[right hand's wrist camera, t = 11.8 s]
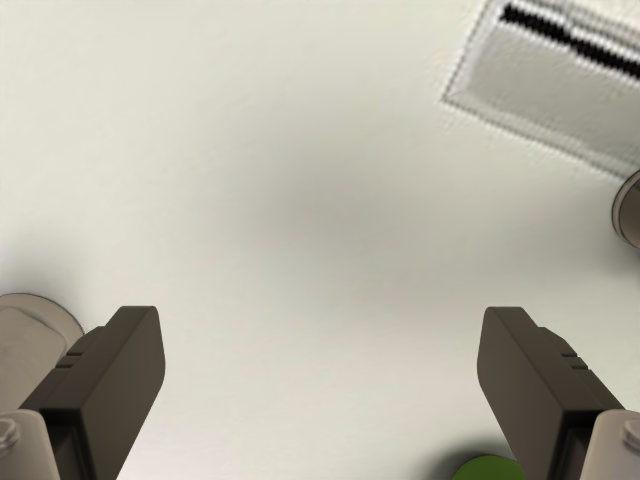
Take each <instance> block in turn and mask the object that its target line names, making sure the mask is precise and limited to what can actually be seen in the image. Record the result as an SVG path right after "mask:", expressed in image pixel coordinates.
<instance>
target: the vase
mask: <svg viewBox="0 0 640 480" xmlns="http://www.w3.org/2000/svg"><path fill="white" fill-rule="evenodd" d="M451 480H526V478H525V476H524V474H523V472H522V470H521V468H520V466H519V463H518V462H516V461H513V460H511V459H507V458H504V457H500V456H495V455H486V456H480V457H476V458H474V459H471V460H469V461H467V462H466V463H464V464H463V465H462V466H461V467H460V468H459V469H458V470H457V472H456V473H455V474H454V476H453V477H452V479H451Z"/></svg>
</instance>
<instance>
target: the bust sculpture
mask: <svg viewBox="0 0 640 480" xmlns="http://www.w3.org/2000/svg"><path fill="white" fill-rule="evenodd" d="M82 336H84V335H83V333H82V331H81V329H80V327H79V325H78V324H77V323H76V321H75V320H74V319H73V318H72V317H71V316H70V315H69V314H68V313H67V312H66V311H65V310H63V309H62V308H61V307H59V306H58V305H56V304H54V303H52V302H51V301H48V300H46V299H44V298H41V297H38V296H34V295H28V294H9V295H4V296H0V413H2V412H6V411H10V410H17V409H18V408H19V407H20V405H21V404H22V403H23V402H24V401H25V400H26V399H27V397H28V396H29V395H30V394H31V393H32V392H33V390H34V389H35V388H36V387H37V386H38V385H39V384H40V382H41V381H42V380H43V379H44V378H45V377H46V376H47V374H48V373H49V372H50V371H51V370H52V369H53V368H55V365H56V364H57V363H58V362H59V361H60V359H61V358H62V357H63V356H66V353H67V351H68V350H69V349H70V348H71V347H72V346H73V345H74V343H75V342H76V341H77V340H78V339H79V338H80V337H82Z"/></svg>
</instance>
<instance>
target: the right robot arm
mask: <svg viewBox="0 0 640 480" xmlns="http://www.w3.org/2000/svg"><path fill="white" fill-rule="evenodd" d="M613 224H614V227H615V229H616V231H617V233H618V234H619V236H620V237H621V238H622V239H623V240H624V241H626V242H627V243H629V244H631V245H632V246H634V247H636V248H639V249H640V171H639V172H637V173H636V174H635V175H633V176H632V177H631V178H630V179H629V180H628V181H627V182H626V183H625V185H624V186H623V187H622V189H621V190H620V192H619V194H618V196H617V198H616V200H615V203H614V207H613ZM477 374H478V380H479V383H480V386H481V389H482V391H483V393H484V395H485V397H486V399H487V401H488V403H489V405H490V407H491V409H492V411H493V413H494V415H495V417H496V419H497V421H498V423H499V425H500V427H501V429H502V431H503V433H504V435H505V437H506V439H507V441H508V443H509V445H510V447H511V449H512V451H513V453H514V455H515V457H516V459H517V461H518V463H519V466H520V468H521V470H522V472H523V474H524V476H525V478H526V480H640V413H638V412H634V411H630V410H626V409H625V408H624V407H623V406H622V405H621V403H620V402H619V401H618V400H617V399H616V398H615V397H614V395H613V394H612V393H611V392H610V391H609V390H608V389H607V388H606V386H605V385H604V384H603V383H602V382H601V381H600V380H599V378H598V377H597V376H596V375H595V374H594V373H593V372H592V370H588V366H587V365H586V364H585V362H584V361H583V360H582V359H581V358H580V357H577V353H576V352H575V351H574V350H573V349H572V348H571V347H570V345H569V344H568V343H567V342H566V341H565V340H564V339H563V338H561V337H559V336H558V335H556V334H555V333H553V332H552V331H550V330H548V329H547V328H545V327H538V326H537V325H536V324H535V323H534V321H533V320H532V319H531V318H530V316H529V315H528V314H527V313H526V312H525V310H524V309H523V308H521V307H488V308H487V309H486V311H485V314H484V319H483V325H482V332H481V339H480V345H479V352H478V359H477ZM164 375H165V355H164V348H163V342H162V335H161V328H160V321H159V315H158V311H157V309H156V307H154V306H122V307H120V308H119V309H118V311H117V312H116V313H115V314H114V315H113V317H112V318H111V319H110V320H109V322H108V323H107V324H106V325H105V326H98V327H96V328H95V329H93V330H91V331H90V332H88V333H87V334H85V335H84V336H82V337H80V338H79V339H78V340H77V341H76V342H75V343H74V345H73V346H72V347H71V348H70V349H69V350H68V351H67V353H66V356H63V357H62V358H61V359H60V361H59V362H58V363H57V364H56V365H55V368H53V369H52V370H51V371H50V372H49V373H48V374H47V376H46V377H45V378H44V379H43V380H42V381H41V382H40V384H39V385H38V386H37V387H36V388H35V389H34V390H33V392H32V393H31V394H30V395H29V396H28V397H27V399H26V400H25V401H24V402H23V403H22V404H21V405H20V407H19V408H18V409H17V410H10V411H6V412H2V413H0V480H116V479H117V477H118V475H119V473H120V470H121V468H122V466H123V464H124V462H125V460H126V458H127V456H128V454H129V452H130V450H131V448H132V446H133V444H134V442H135V440H136V438H137V436H138V434H139V431H140V429H141V427H142V425H143V423H144V421H145V419H146V417H147V415H148V413H149V411H150V409H151V407H152V405H153V403H154V401H155V399H156V397H157V395H158V393H159V390H160V388H161V386H162V384H163V380H164Z"/></svg>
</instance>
